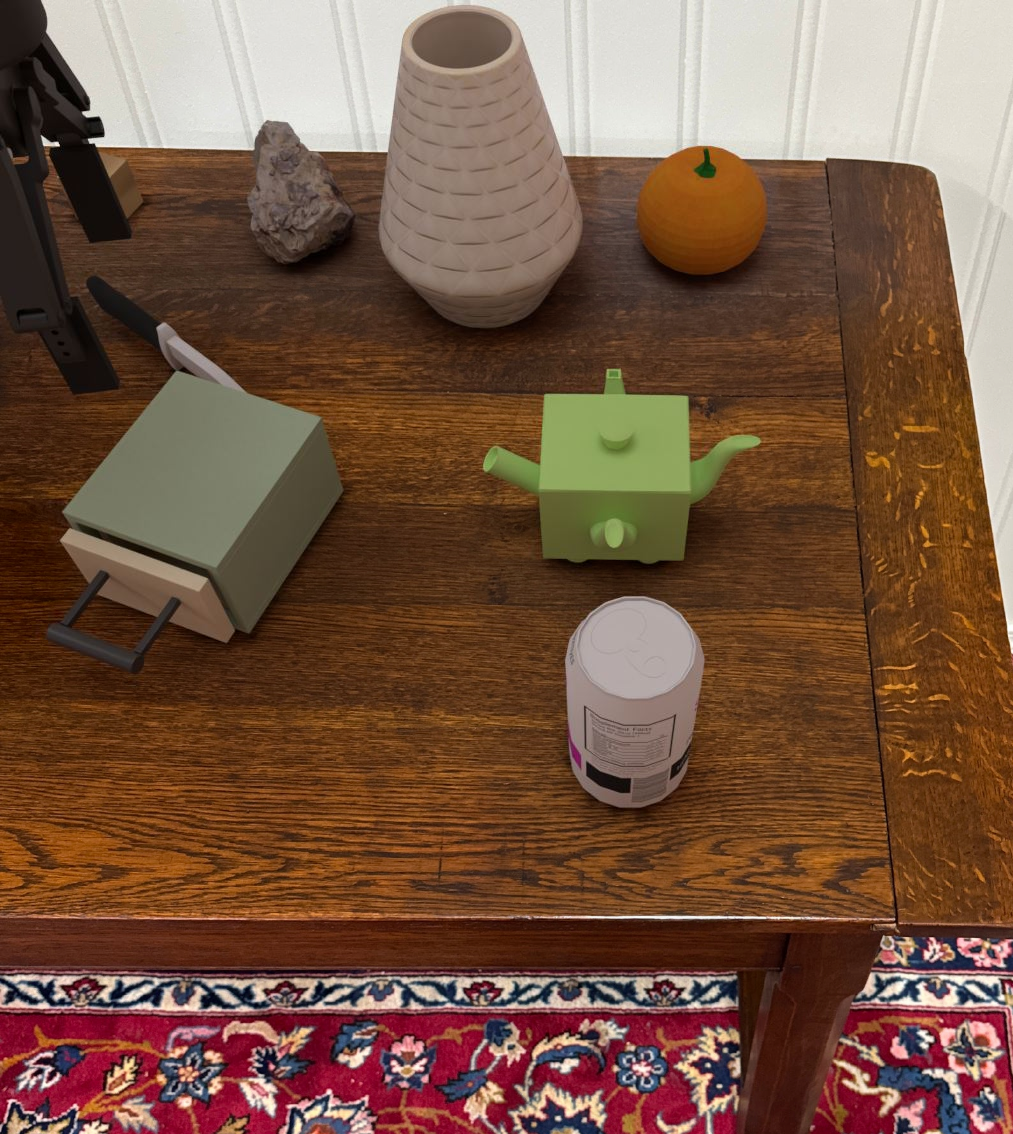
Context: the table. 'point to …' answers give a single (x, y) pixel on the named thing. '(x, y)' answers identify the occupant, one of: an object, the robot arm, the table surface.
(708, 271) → the fruit
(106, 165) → the block
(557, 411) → the kettle
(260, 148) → the rock
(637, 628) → the supplement can
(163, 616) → the drawer
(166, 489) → the cabinet
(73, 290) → the table surface
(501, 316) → the vase
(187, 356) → the knife
